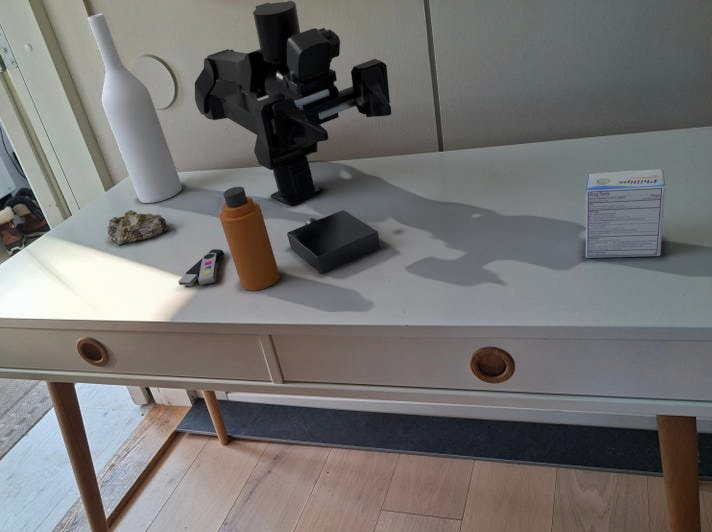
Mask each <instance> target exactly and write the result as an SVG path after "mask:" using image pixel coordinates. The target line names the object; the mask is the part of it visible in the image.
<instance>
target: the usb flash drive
mask: <svg viewBox="0 0 712 532" xmlns="http://www.w3.org/2000/svg"><path fill="white" fill-rule="evenodd" d="M223 256H225V252H224V251H223V249H218V248H213V249H211V250H210V251H209V252H207V253H206V254H204V255H203V256H202V258H201V259H200V260H198V261H197V262H196V263H195V264H193V266H191V267H190V268H189V270H187V271H186V272H185V274H184V275H183V276H182V277H181V278H180V279H179V280H178V285H179V286H191V287H192V285H193V284H194V283H196V282H197V280H198V283H199V286H204V285H209V284H213V283H215V282H216V280H217V279H216V278H217V271H218V266H219V265H218V264H219V261H220V260H221V259H222V258H223Z"/></svg>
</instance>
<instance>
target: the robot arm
mask: <svg viewBox="0 0 712 532" xmlns="http://www.w3.org/2000/svg"><path fill="white" fill-rule="evenodd" d="M252 14H253V15H252V16H253V19H254V24H255V29H256V34H257V39H258V44H259V49H255V50H253V51H250V52H240V51H235V50H234V49H229V48H226V49H223V50H221V51H217V52H214V53H211V54H208V55H207V57H205V58H204V59H203V68H202V70H201V71H200V73H199V75H198V77H197V78H196V79H195V82H194V102H195V105H196V107H197V109H198V111H199V114H201V115H203V116H204V117H205V118H206V119H208V120H211V121H217V120H218V121H219V120H226V119H229V120H230V121H232V122H233V123H235V124H237V125H239V126H240V127H242V128H244V129H245V130H247V131H249V132H250V133H252V134H254V135H256V141H255V144H254V150H253V152H254V155H255V157H256V160H257V162H258V164H259V165H260V166H261V167H263V168H266V169H267V170H269V171H272V173H273V177H274V181H275V183H276V184H275V185H276V188H277V191H275V192H273V193H271V194H270V198H271V199H273V200H275V201H278V202H280V203H282V204H286V205H287V206H295V205H297V204H299V203H301V202H303V201H305V200H307V199H309V198H311V197H314V196H316V195H318V194H320V193H321V192H323V191H324V188H323V186H320V185H317V184H315V183H314V178H313V174H312V170H311V167H310V163H309V159H308V157H307V156H309V155H311V154H316V153H317V152H318V143H320V142H326V141H328V140H329V133H328V131H327V129H325V128H324V127H323V126H322V125H323V124H326V123H327V122H330V121H332V120H335V119H338V118H340V117H339V113H341V112H344V111H346V110H349V109H352V108H354V107H356V109H357V111H358V113H360V114H362V115H365V117H366V118H375V117H376V118H379V117H388V116H390V115H392V107H391V105H390V104H391V100H390V88H389V78H388V77H389V76H388V66H387V64H386V63H385V62H384V61H383V60H380V59H377V58H372V59H370V60H367V61H365V62H361V63H359V64H356V65H354V66H353V67H352V69H351V71H350V75H351V76H350V77H351V84H352V86H349V87H347V88H344V89H341V90H339V89H338V87H337V85H335V82H337V81H338V79H337V72H336V70H334V69H332V68H331V63H332V61H333V59H335V58H338V57H340V52H341V39H340V36H339V35H338V34H337V33H336V32H335V31H333V30H332V29H326V28H325V27H322V28H319V29H318V28H316V27H315V28H310V29H307V30H304V31H302V32H301V27H300V22H299V15H298V9H297V4H296V2H295V1H293V0H287V1H279V2H273V3H271V2H265V3H262V4H258V5H256V6H255V9H254V10H253V12H252ZM264 97H265V98H264ZM262 98H263V99H262ZM259 99H260V100H259Z"/></svg>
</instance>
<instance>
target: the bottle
mask: <svg viewBox="0 0 712 532" xmlns="http://www.w3.org/2000/svg"><path fill="white" fill-rule="evenodd" d="M87 22H88V25H89V27H90V30H91V32H92V35H93V38H94V40H95V43H96V46H97V48H98V51H99V54H100V56H101V60H102V62H103V65H104V68H105V73H104V79H103V80H104V81H103V86H102V93H101V104H102V108H103V111H104V114H105V117H106V119H107V122H108V124H109V126H110V128H111V132H112V134H113V137H114V139H115V142H116V144H117V147H118V149H119V152H120V155H121V157H122V160H123V163H124V166H125V168H126V170H127V173H128V175H129V178H130V181H131V183H132V186H133V188H134V191H135V194H136V196H137V199H138V200H139V202H141V203H144V204H152V203H153V204H155V203H159V202H163V201H165V200H168V199H171V198H172V197H173V198H174V196H176V195H178V194H179V193H180V192H181V191H182V189H183V186H182V182H181V180H180V176H179V173H178V171H177V168H176V165H175V162H174V160H173V157H172V156H173V155H172V153H171V151H170V147H169V145H168V142H167V140H166V136H165V133H164V130H163V128H162V125H161V122H160V119H159V116H158V114H157V110H156V107H155V105H154V102H153V99H152V96H151V94H150V91H149V89H148V88H147V86H146V85H145V84H144V83H143V82H142V81H141V80H140V79H139V78H138V77H136V76H135V74H133V73H132V71H130V70H128V68H127V67H126V66H125V65H124V63H123V62H122V59H121V57H120V54H119V53H118V50H117V47H116V44H115V41H114V38H113V35H112V34H111V30H110V27H109V25H108V22H107V20H106V17H105V14H104V13H97V14H94V15H90V16H88V17H87Z"/></svg>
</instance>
